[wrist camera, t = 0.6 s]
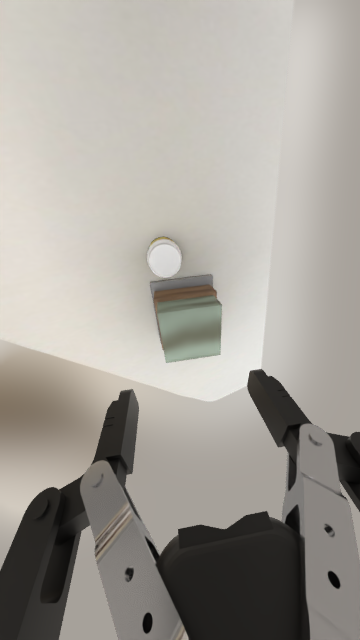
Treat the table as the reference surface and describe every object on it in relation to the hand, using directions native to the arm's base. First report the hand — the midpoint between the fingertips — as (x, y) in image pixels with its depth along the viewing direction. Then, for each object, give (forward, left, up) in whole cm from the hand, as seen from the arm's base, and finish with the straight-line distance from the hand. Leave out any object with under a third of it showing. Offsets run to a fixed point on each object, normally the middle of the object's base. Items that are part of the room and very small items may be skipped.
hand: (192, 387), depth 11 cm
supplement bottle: (-6, -1, -22) cm, 23 cm away
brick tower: (+5, +2, -22) cm, 22 cm away
